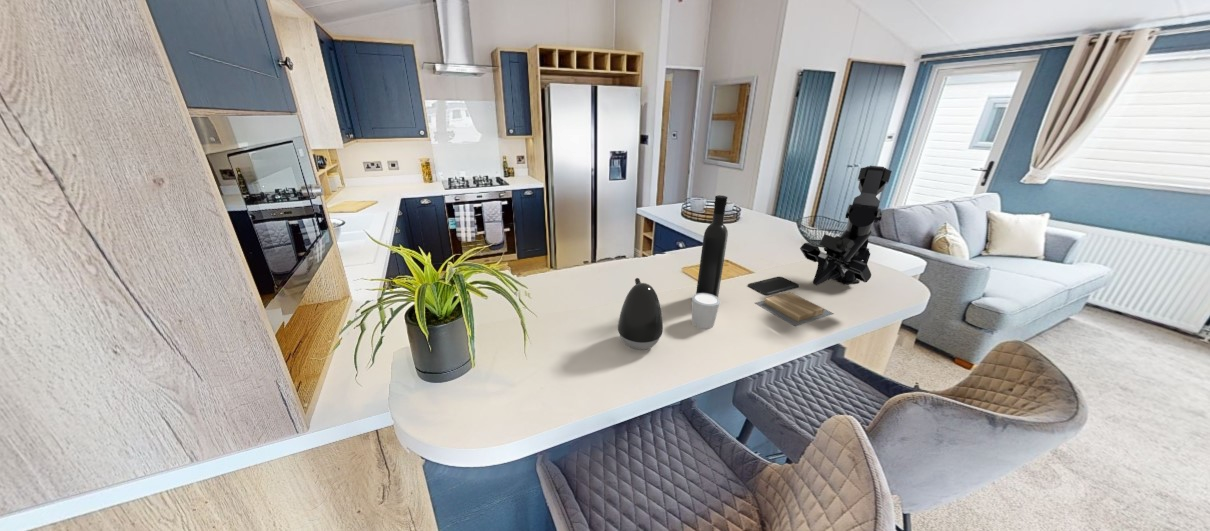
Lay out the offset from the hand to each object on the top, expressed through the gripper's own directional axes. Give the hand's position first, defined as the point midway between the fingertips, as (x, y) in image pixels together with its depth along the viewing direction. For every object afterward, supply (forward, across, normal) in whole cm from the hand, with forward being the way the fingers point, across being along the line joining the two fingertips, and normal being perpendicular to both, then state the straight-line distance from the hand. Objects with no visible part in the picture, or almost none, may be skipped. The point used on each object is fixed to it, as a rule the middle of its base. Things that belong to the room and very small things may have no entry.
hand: (814, 284), depth 107 cm
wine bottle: (+23, -13, -14) cm, 30 cm away
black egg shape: (+43, -3, -35) cm, 55 cm away
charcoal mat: (+9, 0, -1) cm, 9 cm away
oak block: (+5, 0, +2) cm, 6 cm away
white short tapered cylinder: (+29, -4, -21) cm, 36 cm away
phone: (+5, -12, +4) cm, 14 cm away
